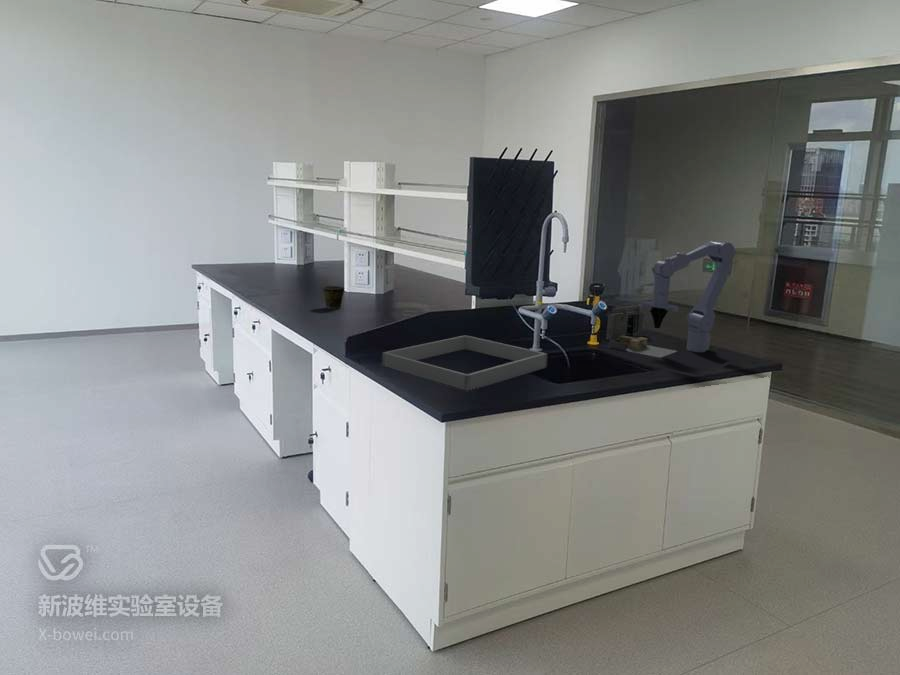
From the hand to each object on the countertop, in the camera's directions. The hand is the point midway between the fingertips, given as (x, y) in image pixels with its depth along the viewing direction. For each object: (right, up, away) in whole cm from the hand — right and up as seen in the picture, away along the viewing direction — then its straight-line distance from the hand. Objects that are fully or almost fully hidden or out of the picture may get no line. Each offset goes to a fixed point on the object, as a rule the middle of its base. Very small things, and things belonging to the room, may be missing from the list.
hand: (657, 327), depth 269 cm
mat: (-4, -9, +5) cm, 12 cm away
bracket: (-10, -7, +10) cm, 15 cm away
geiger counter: (-4, -4, +31) cm, 32 cm away
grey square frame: (-74, -14, -29) cm, 81 cm away
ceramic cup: (-136, +10, +68) cm, 152 cm away
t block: (-8, -7, +8) cm, 14 cm away
